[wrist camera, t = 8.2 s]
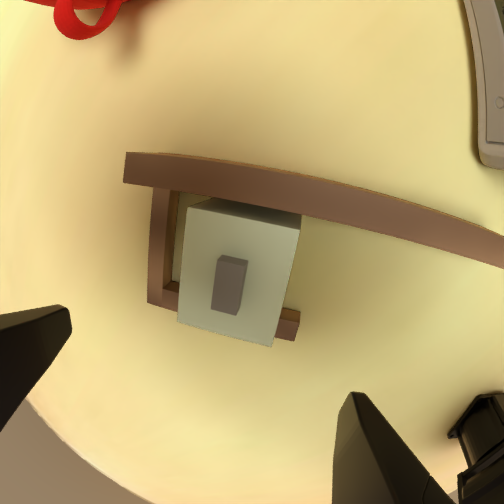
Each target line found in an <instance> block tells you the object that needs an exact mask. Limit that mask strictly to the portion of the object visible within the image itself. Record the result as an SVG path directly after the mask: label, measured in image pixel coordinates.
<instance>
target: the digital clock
mask: <svg viewBox="0 0 504 504" xmlns="http://www.w3.org/2000/svg"><path fill="white" fill-rule="evenodd" d="M464 4H465V8H466V13H467V17H468V22H469V27H470V32H471V38H472V44H473V51H474V59H475V68H476V80H477V97H478V148H479V155H480V159H481V162H482V163H483V164H484V165H486V166H488V167H491V168H495V169H499V170H504V0H464Z"/></svg>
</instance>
